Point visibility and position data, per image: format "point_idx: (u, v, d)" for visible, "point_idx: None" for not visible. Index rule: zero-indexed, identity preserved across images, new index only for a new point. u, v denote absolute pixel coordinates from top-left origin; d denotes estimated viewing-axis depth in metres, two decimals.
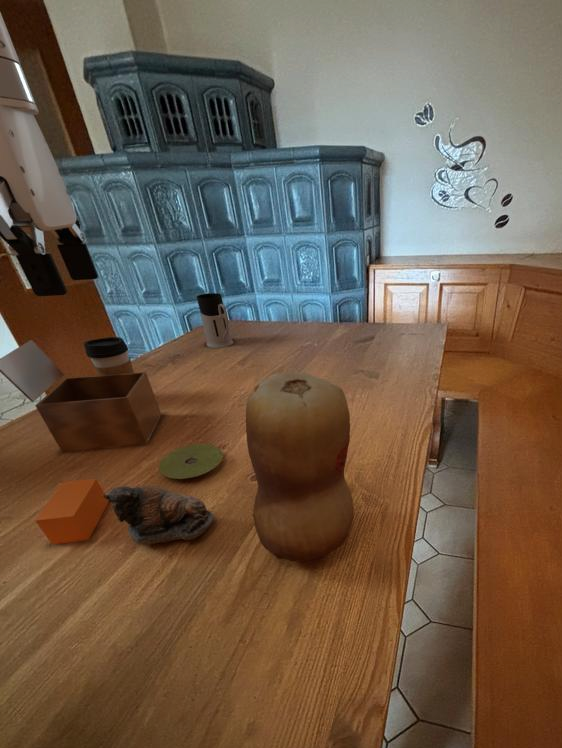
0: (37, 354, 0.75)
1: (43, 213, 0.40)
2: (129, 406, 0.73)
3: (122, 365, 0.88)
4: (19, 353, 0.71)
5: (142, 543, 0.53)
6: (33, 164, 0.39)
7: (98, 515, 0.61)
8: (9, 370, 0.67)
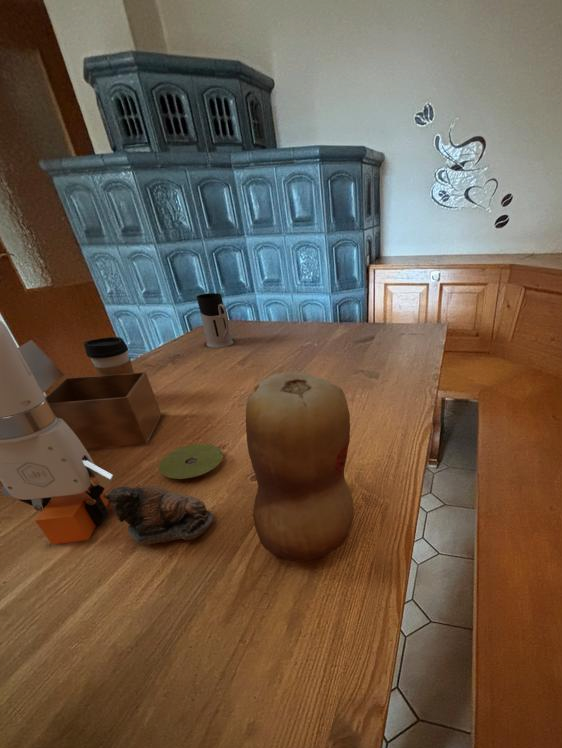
0: (37, 354, 0.75)
1: None
2: (129, 406, 0.73)
3: (122, 365, 0.88)
4: None
5: (142, 543, 0.53)
6: None
7: None
8: None
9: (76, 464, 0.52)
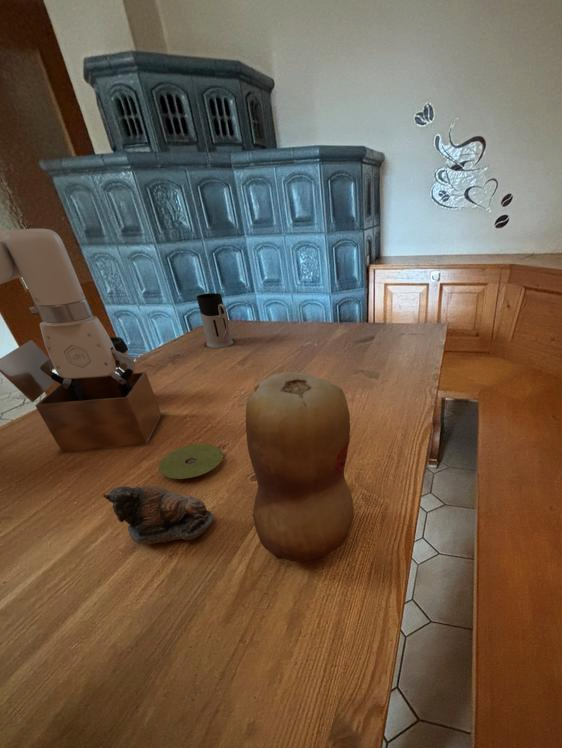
0: (37, 354, 0.75)
1: None
2: (129, 406, 0.73)
3: (122, 365, 0.88)
4: (19, 353, 0.71)
5: (142, 543, 0.53)
6: None
7: None
8: (9, 370, 0.67)
9: (106, 350, 0.71)
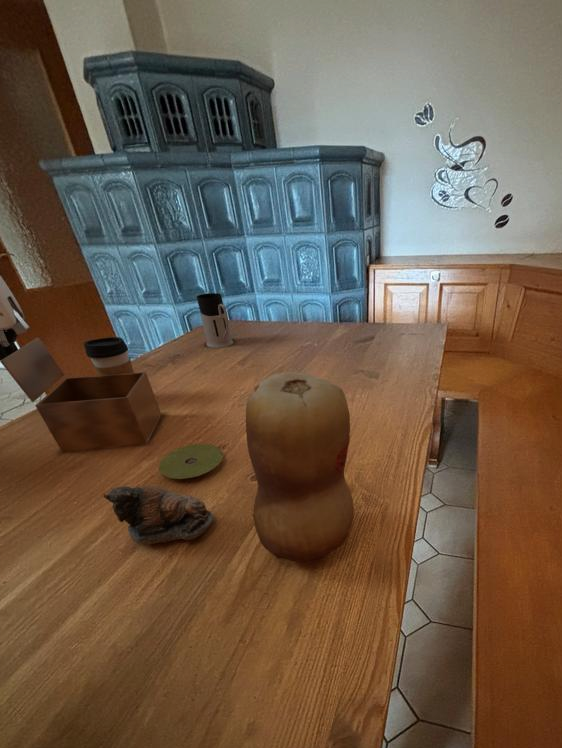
0: (42, 352, 0.75)
1: None
2: (129, 406, 0.73)
3: (122, 365, 0.88)
4: (26, 351, 0.71)
5: (142, 543, 0.53)
6: None
7: None
8: (15, 368, 0.67)
9: (1, 299, 0.64)
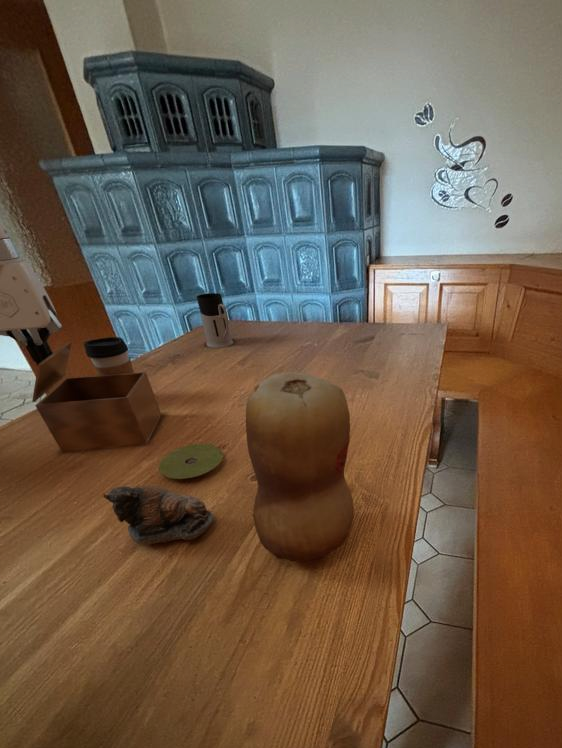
0: (65, 356, 0.76)
1: None
2: (129, 406, 0.73)
3: (122, 365, 0.88)
4: (58, 355, 0.72)
5: (142, 543, 0.53)
6: None
7: None
8: (43, 372, 0.69)
9: (37, 298, 0.64)
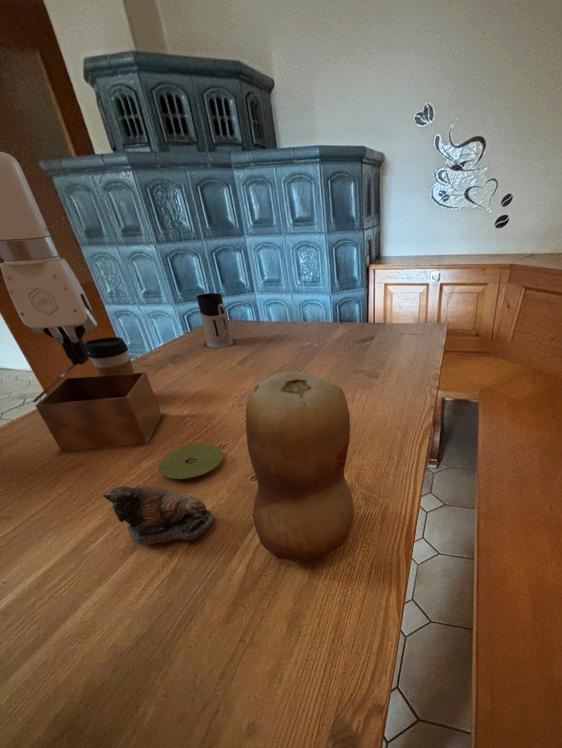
0: None
1: None
2: (129, 406, 0.73)
3: (122, 365, 0.88)
4: None
5: (142, 543, 0.53)
6: None
7: None
8: None
9: (75, 296, 0.65)
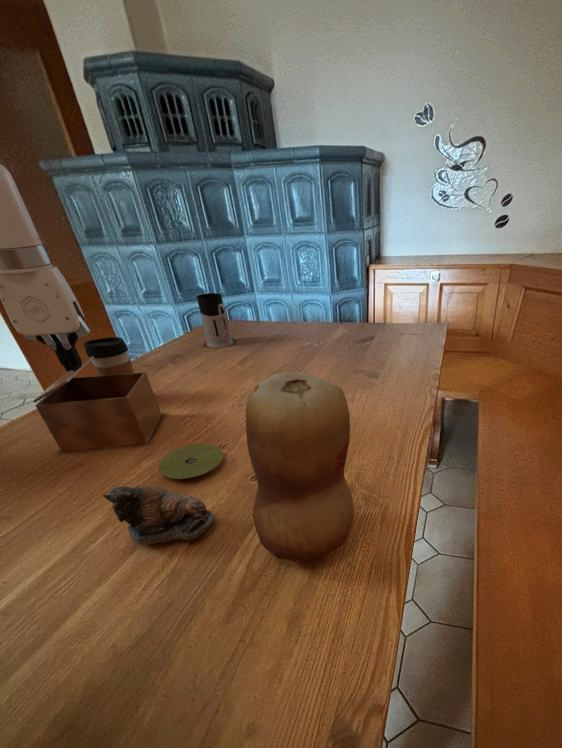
0: None
1: None
2: (129, 406, 0.73)
3: (122, 365, 0.88)
4: None
5: (142, 543, 0.53)
6: None
7: None
8: None
9: (67, 303, 0.66)
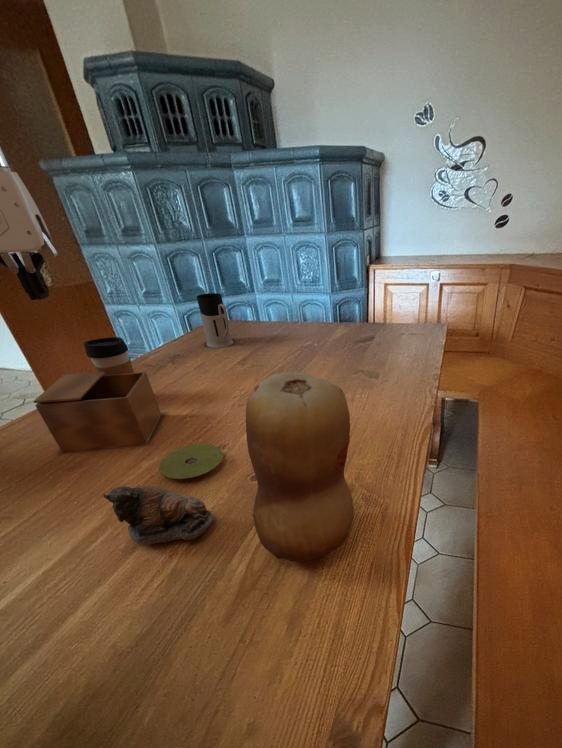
0: None
1: None
2: (129, 406, 0.73)
3: (122, 365, 0.88)
4: None
5: (142, 543, 0.53)
6: None
7: None
8: None
9: (29, 214, 0.58)
